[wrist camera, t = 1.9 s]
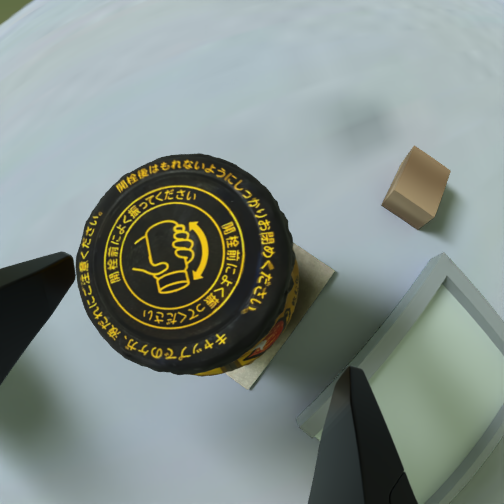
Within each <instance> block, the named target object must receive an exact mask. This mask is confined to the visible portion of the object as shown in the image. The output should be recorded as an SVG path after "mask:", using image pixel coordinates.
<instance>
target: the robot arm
mask: <svg viewBox="0 0 504 504" xmlns="http://www.w3.org/2000/svg"><path fill="white" fill-rule="evenodd" d="M75 276H76V275H75V268H74V260H73V257H72V256H71V255H69V254H67V253H65V252H58V253H54V254H51V255H47V256H43V257H40V258H36V259H33V260H29V261H26V262H22V263H19V264H15V265H12V266H8V267H5V268H1V269H0V385H1V384H2V382H3V381H4V379H5V378H6V376H7V375H8V373H9V372H10V370H11V369H12V367H13V366H14V365H15V363H16V362H17V360H18V359H19V358H20V356H21V355H22V353H23V352H24V351H25V349H26V348H27V347H28V345H29V344H30V343H31V341H32V340H33V339H34V337H35V336H36V335H37V333H38V332H39V331H40V329H41V328H42V327H43V326H44V324H45V323H46V322H47V320H48V319H49V318H50V317H51V315H52V314H53V312H54V311H55V309H56V308H57V306H58V305H59V303H60V302H61V300H62V299H63V297H64V296H65V294H66V293H67V291H68V290H69V288H70V287H71V285H72V284H73V282H74V280H75ZM308 504H418V502H417V500H416V497H415V495H414V492H413V490H412V487H411V485H410V483H409V480H408V477H407V475H406V472H404V467H403V464H402V462H401V459H400V457H399V454H398V452H397V449H396V447H395V444H394V442H393V439H392V437H391V434H390V432H389V429H388V427H387V424H386V422H385V419H384V417H383V415H382V412H381V410H380V407H379V405H378V403H377V400H376V398H375V396H374V393H373V391H372V389H371V386H370V384H369V382H368V380H367V377H366V375H365V373H364V371H363V369H361V368H358V367H355V366H352V365H350V366H348V367H347V368H346V370H345V371H344V372H343V374H342V375H341V376H340V378H339V379H338V381H337V382H336V384H335V387H334V390H333V394H332V398H331V402H330V405H329V409H328V413H327V416H326V420H325V423H324V427H323V430H322V435H321V440H320V445H319V451H318V456H317V462H316V467H315V472H314V477H313V482H312V487H311V492H310V496H309V501H308Z"/></svg>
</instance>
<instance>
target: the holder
mask: <svg viewBox="0 0 504 504" xmlns="http://www.w3.org/2000/svg"><path fill="white" fill-rule="evenodd" d="M350 365H352V366H355V367H358V368H361V369H363V371H364V373H365V375H366V377H367V380H368V382H369V384H370V386H371V389H372V391H373V393H374V396H375V398H376V400H377V403H378V405H379V407H380V410H381V412H382V415H383V417H384V419H385V422H386V424H387V427H388V429H389V432H390V434H391V437H392V439H393V442H394V444H395V447H396V449H397V452H398V454H399V457H400V459H401V462H402V464H403V467H404V472H406V475H407V477H408V480H409V483H410V485H411V487H412V490H413V492H414V495H415V497H416V500H417V502H418V504H449V503H450V502H451V501H452V500H453V499H454V498H455V497H456V496H457V495H458V493H459V492H460V491H461V490H462V489H463V488H464V487H465V486H466V484H467V483H468V482H469V481H470V480H471V478H472V477H473V476H474V475H475V474H476V472H477V471H478V470H479V469H480V467H481V466H482V465H483V463H484V462H485V461H486V460H487V458H488V457H489V456H490V454H491V453H492V451H493V450H494V449H495V447H496V446H497V444H498V443H499V442H500V440H501V439H502V437H503V436H504V321H503V320H502V319H501V318H500V316H499V315H498V314H497V313H496V311H495V310H494V309H493V308H492V306H491V305H490V304H489V303H488V301H487V300H486V299H485V298H484V297H483V295H482V294H481V293H480V292H479V291H478V289H477V288H476V287H475V286H474V285H473V284H472V282H471V281H470V280H469V279H468V278H467V277H466V276H465V275H464V273H463V272H462V271H461V270H460V269H459V268H458V267H457V266H456V265H455V263H454V262H453V261H452V260H451V259H450V258H449V257H448V256H447V255H446V254H445V253H444V252H443V253H441V254H440V255H438V256H436V257H434V258H432V259H430V261H429V262H428V264H427V265H426V267H425V268H424V269H423V271H422V272H421V274H420V275H419V277H418V278H417V279H416V281H415V282H414V284H413V285H412V286H411V288H410V289H409V291H408V292H407V293H406V295H405V296H404V297H403V299H402V300H401V301H400V303H399V304H398V305H397V307H396V308H395V309H394V310H393V312H392V313H391V314H390V316H389V317H388V318H387V319H386V321H385V322H384V323H383V324H382V326H381V327H380V328H379V329H378V331H377V332H376V333H375V334H374V335H373V337H372V338H371V339H370V340H369V341H368V343H367V344H366V345H365V346H364V347H363V349H362V350H361V351H360V352H359V353H358V354H357V355H356V357H355V358H354V359H353V360H352V361H351V362H350V363H349V365H348V366H350ZM348 366H347V367H348ZM347 367H346V368H347ZM346 368H345V369H344V370H343V371H342V372H341V373H340V374H339V376H338V377H337V378H336V379H335V380H334V381H333V382H332V383H331V384H330V385H329V386H328V387H327V388H326V389H325V390H324V391H323V392H322V393H321V394H320V395H319V396H318V398H317V399H316V400H315V401H314V402H313V403H312V404H311V405H310V406H309V407H308V408H306V409H305V410H304V411H303V412H302V413H301V414H300V415H299V416H298V417H297V418H296V421H297V423H298V426H299V428H300V429H302V430H303V431H304V432H305V433H306V434H308V435H309V436H310V437H311V438H313V437H314V436H315V437H316V438H317V439H318V440H321V435H322V430H323V427H324V423H325V420H326V416H327V413H328V409H329V405H330V402H331V398H332V394H333V390H334V387H335V384H336V382H337V381H338V379H339V378H340V376H341V375H342V374H343V372H344V371H345V370H346Z"/></svg>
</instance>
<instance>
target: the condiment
mask: <svg viewBox="0 0 504 504" xmlns="http://www.w3.org/2000/svg"><path fill="white" fill-rule="evenodd" d="M333 273H334V270H333V269H332V268H330V267H329V266H327V265H326V264H324V263H322V262H321V261H319V260H318V259H316V258H315V257H314V256H312V255H311V254H309V253H308V252H306V251H305V250H303V249H302V248H300V247H299V246H297V245H296V244H294V243H293V239H292V235H291V233H290V231H289V229H288V220H287V219H286V217H285V215H284V213H283V212H282V211H280V209H279V206H278V202H277V201H276V200H275V199H274V198H273V196H272V195H271V193H270V192H269V190H268V189H267V188H266V187H265V186H264V185H262V184H261V183H260V182H259V181H258V180H257V179H256V178H255V177H253V176H252V175H251V174H249V173H248V172H246V171H244V170H243V169H241V168H239V167H238V166H237V165H235V164H233V163H231V162H228V161H226V160H223V159H220V158H216V157H212V156H210V155H204V154H181V155H170V156H165V157H161V158H158V159H156V160H154V161H152V162H149V163H147V164H145V165H143V166H141V167H139V168H137V169H135V170H134V171H132V172H130V173H127V174H125V175H124V176H122V177H121V178H120V180H119V181H118V182H116V183H115V184H114V185H113V186H112V187H111V188H110V189H109V190H108V191H107V192H106V193H105V195H104V196H103V197H102V198H101V199H100V201H99V203H98V204H97V206H96V207H95V208H94V210H93V211H92V213H91V215H90V217H89V218H88V220H87V221H86V224H85V227H84V232H83V236H82V240H81V244H80V247H79V250H78V253H77V256H76V274H77V283H78V288H79V291H80V295H81V298H82V302H83V305H84V308H85V311H86V313H87V315H88V317H89V318H90V320H91V321H92V323H93V324H94V326H95V327H96V328H97V330H98V331H99V333H100V335H101V336H102V337H103V338H104V339H105V340H106V341H107V342H108V343H109V344H110V346H111V347H112V348H113V349H114V350H115V351H117V352H118V353H120V354H121V355H122V356H123V357H124V358H126V359H128V360H130V361H132V362H134V363H137V364H139V365H141V366H145V367H148V368H151V369H152V370H155V371H158V372H171V373H173V374H177V375H183V374H190V375H197V376H212V375H218V374H223V373H225V374H227V375H228V376H229V377H231V378H232V379H233V380H235V381H236V382H237V383H239V384H240V385H242V386H243V387H244V388H246V389H247V390H249V388H250V387H251V386H252V385H253V383H254V382H255V381H256V379H257V378H258V377H259V376H260V374H261V373H262V372H263V370H264V369H265V368H266V366H267V365H268V364H269V362H270V361H271V360H272V359H273V357H274V356H275V354H276V353H277V352H278V350H279V349H280V348H281V347H282V345H283V344H284V343H285V341H286V340H287V338H288V337H289V336H290V334H291V333H292V332H293V330H294V329H295V327H296V326H297V325H298V323H299V322H300V321H301V319H302V318H303V316H304V315H305V314H306V312H307V311H308V309H309V308H310V307H311V305H312V304H313V302H314V301H315V299H316V298H317V296H318V295H319V293H320V292H321V291H322V289H323V288H324V286H325V285H326V283H327V282H328V280H329V279H330V277H331V276H332V274H333Z"/></svg>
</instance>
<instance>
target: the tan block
mask: <svg viewBox="0 0 504 504" xmlns="http://www.w3.org/2000/svg"><path fill="white" fill-rule="evenodd" d="M449 175H450V170H449V169H447V168H446V167H445V166H443V165H442V164H441V163H439V162H438V161H436V160H435V159H433V158H432V157H431V156H429V155H428V154H426V153H425V152H423V151H422V150H420V149H419V148H417V147H416V146H414V147H413V148H412V149H411V151H410V152H409V153H408V155H407V156H406V158H405V159H404V160H403V162H402V163H401V165H400V167H399V169H398V172H397V174H396V176H395V178H394V180H393V182H392V184H391V186H390V188H389V190H388V192H387V194H386V196H385V199H384V201H383V203H382V205H381V206H383V207H384V208H386V209H388V210H389V211H391V212H392V213H394V214H395V215H397V216H398V217H400V218H401V219H403V220H404V221H406V222H407V223H408V224H410V225H411V226H413V227H414V228H416V229H417V230H418V229H420V228H421V227H422V226H424V225H425V224H426V223H428V222H429V221H430V220H432V219H433V218H434V217H435V214H436V212H437V209H438V206H439V204H440V201H441V198H442V195H443V192H444V189H445V187H446V184H447V181H448V178H449Z"/></svg>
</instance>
